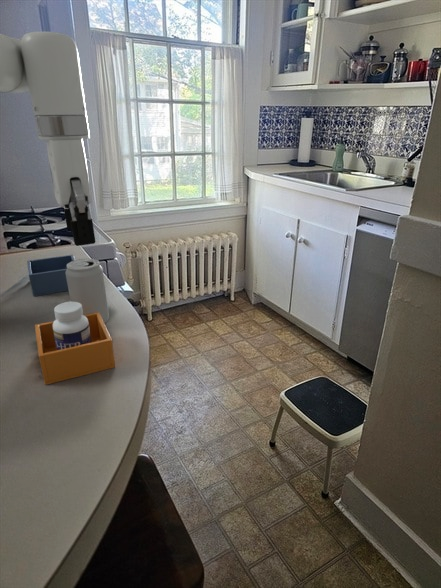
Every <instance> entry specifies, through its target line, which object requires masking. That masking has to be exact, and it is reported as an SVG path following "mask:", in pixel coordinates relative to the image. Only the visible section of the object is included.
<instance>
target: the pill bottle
mask: <svg viewBox="0 0 441 588" xmlns="http://www.w3.org/2000/svg"><path fill="white" fill-rule="evenodd" d="M53 311H54V312H53V313H54V317H55V319H54V320H53V321H54V322H53V332H54V337H55V343H56V348H57V350H61V349H65V348H70V347H74V346H79V345H83V344H88V343H91V336H90V329H89V322H88V319H87V318H86V317H85V316H84V315H82V314H83V310H82V305H81V304H80V303H78V302H71V301H65V302H61V303H58V304H57V305H56V306H55V307H54V308H53Z"/></svg>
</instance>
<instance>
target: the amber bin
mask: <svg viewBox="0 0 441 588" xmlns="http://www.w3.org/2000/svg"><path fill="white" fill-rule="evenodd" d="M84 316H85V317H86V318H87V319H88V322H89V329H90V336H91V343H88V344H83V345H79V346H74V347H70V348H65V349H61V350H57V348H56V343H55V337H54V332H53V322H54V321H55V320H53V321H47V322H42V323H38V324H34V328H35V336H36V338H35V339H36V345H37V352H38V360H39V363H40V369H41V371H42V372H41V373H42V376H43V381H44V385H45V386H46V385H52V384H54V383H60V382H62V381H63V382H64V381H66V380H70V379H74V378H78V377H82V376H86V375H90V374H94V373H98V372H103V371H105V370H110V369H113V368H116V363H115V361H116V360H115V353H114V347H113V340H112V337H111V336H110V333H109V331H108V329H107V326H106V325H105V324H106V323H105V324H104V322H103V320H102V318H101V316H100V313H99V312H98V313H93V314H88V315H84Z"/></svg>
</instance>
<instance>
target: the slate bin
mask: <svg viewBox="0 0 441 588" xmlns="http://www.w3.org/2000/svg"><path fill="white" fill-rule="evenodd" d="M75 260H76V258H75V256H74V255H73V254H67V255H66V254H65V255H59V256H52V257H45V258H37V259H31V260H26V265H27V272H28V278H29V283H30V288H31V292H32V296H33V297H38V296H45V295H51V294H56V293H63V292H67V291H68V292H69V290H68V284H67V279H66V273H65V272H66V270H67V264H68V263H70V262H72V261H75Z"/></svg>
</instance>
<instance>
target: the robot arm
mask: <svg viewBox="0 0 441 588" xmlns="http://www.w3.org/2000/svg"><path fill="white" fill-rule="evenodd" d="M83 87H84V86H83V79H82V70H81V64H80V56H79V50H78V46H77V44H76V42H75V40H74V39H73V38H72V37H71V36H70V35H68V34H66V33H61V32H57V31H42V30H41V31H39V30H38V31H30V32H27V33H25V34H24V35H22V37H21V38H17V37H12V36H9V35H6V34H3V33H0V93H3V94H4V93H5V94H22V93H29V96H30V101H31V102H30V103H31V107H32V112H33V117H34V123H35V127H36V133H37V138H38V140H39V141H45V142H46V150H47V151H46V152H47V158H48V166H49V171H50V177H51V180H52V187H53V193H54V194H53V195H54V199H55V201H56V203H57V205H58V206H59V207H60V208H63V213H64V218H65V224H66V229H67V231H68V232H72V238H73V242H74V245H75V246H76V247H79V246H88V245H93V244H94V245H95V244H96V235H95V229H94V222H93V218H92V214H91V211H90V207H89V205H90V204H91V203H92V194H91V185H90V178H89V177H90V176H89V170H88V163H87V156H86V149H85V145H84V140H88V139H91V135H90V128H89V123H88V115H87V108H86V102H85V101H86V100H85V92H84V88H83Z"/></svg>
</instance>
